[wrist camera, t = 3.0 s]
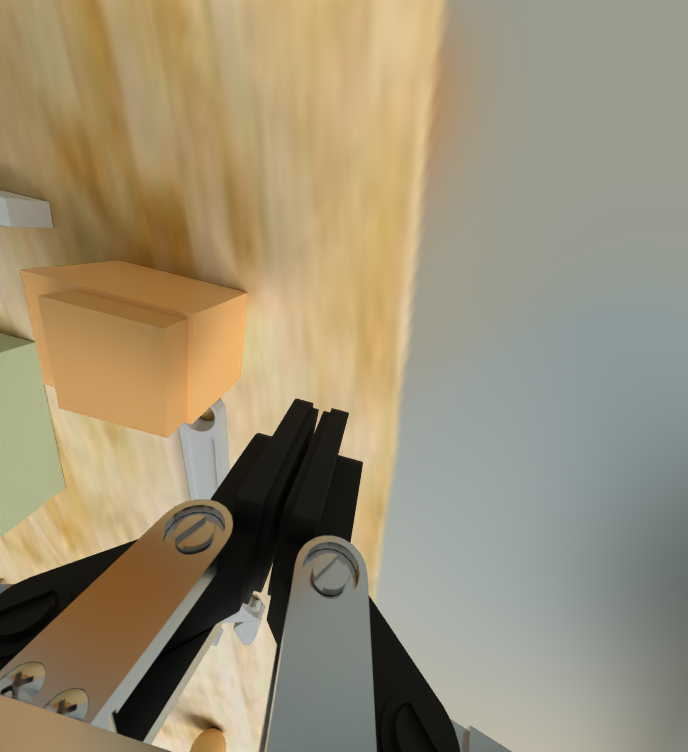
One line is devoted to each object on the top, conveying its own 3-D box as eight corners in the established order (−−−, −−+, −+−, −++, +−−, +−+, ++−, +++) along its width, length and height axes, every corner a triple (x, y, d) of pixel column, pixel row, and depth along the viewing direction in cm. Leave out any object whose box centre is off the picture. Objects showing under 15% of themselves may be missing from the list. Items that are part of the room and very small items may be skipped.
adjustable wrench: (187, 380, 20) (169, 392, 18) (288, 402, 19) (279, 416, 18) (197, 617, 30) (186, 639, 29) (263, 635, 30) (256, 658, 28)
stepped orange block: (241, 378, 19) (171, 443, 13) (127, 347, 19) (9, 398, 13) (248, 292, 17) (169, 324, 11) (120, 260, 17) (-24, 274, 11)
